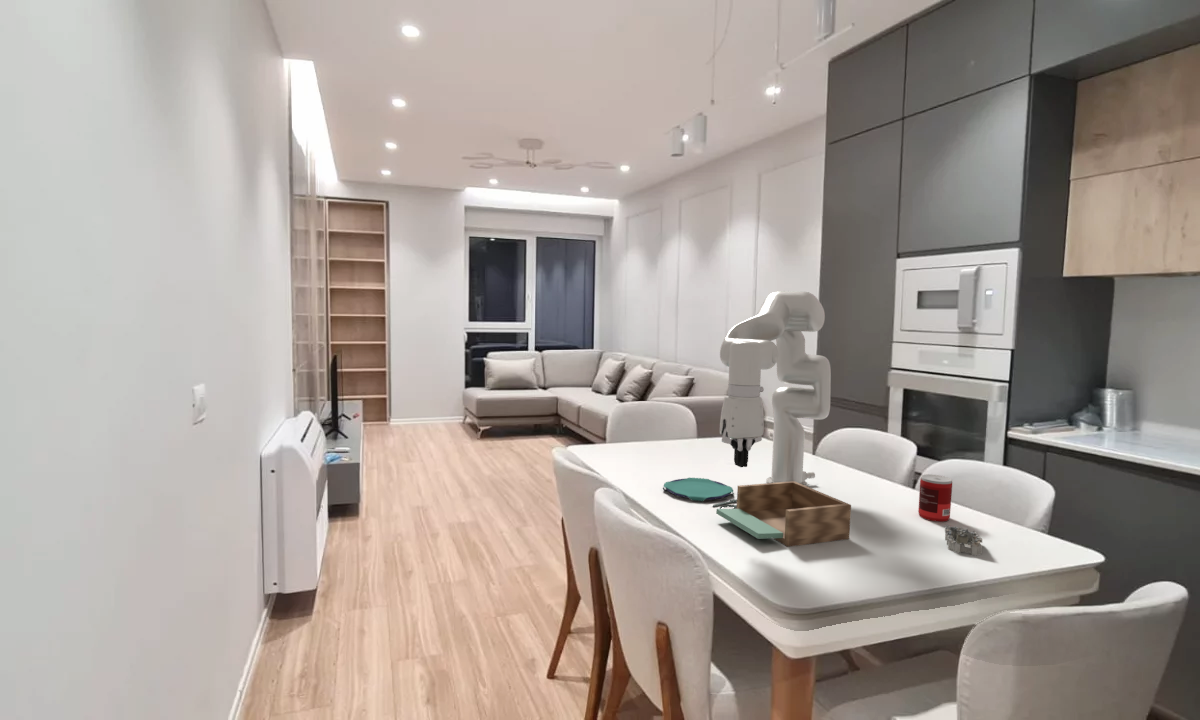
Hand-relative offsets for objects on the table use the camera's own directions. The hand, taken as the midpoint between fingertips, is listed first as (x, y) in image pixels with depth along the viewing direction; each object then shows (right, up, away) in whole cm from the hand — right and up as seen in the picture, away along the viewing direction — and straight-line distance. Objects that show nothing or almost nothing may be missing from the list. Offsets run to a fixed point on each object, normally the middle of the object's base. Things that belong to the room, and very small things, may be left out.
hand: (740, 465), depth 151 cm
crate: (+14, -17, +6) cm, 23 cm away
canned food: (+57, -17, +17) cm, 62 cm away
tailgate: (+6, -15, +3) cm, 17 cm away
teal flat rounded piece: (-2, -15, +31) cm, 35 cm away
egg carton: (+52, -19, -4) cm, 56 cm away
